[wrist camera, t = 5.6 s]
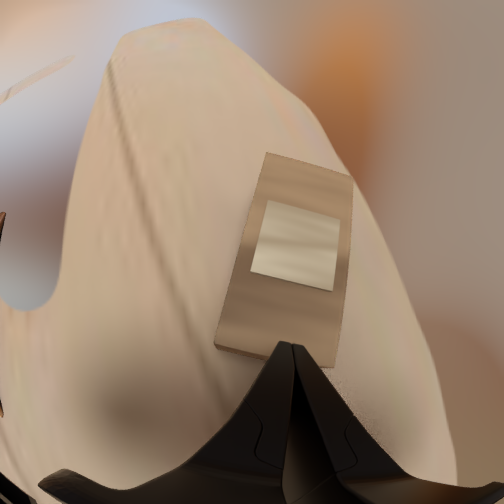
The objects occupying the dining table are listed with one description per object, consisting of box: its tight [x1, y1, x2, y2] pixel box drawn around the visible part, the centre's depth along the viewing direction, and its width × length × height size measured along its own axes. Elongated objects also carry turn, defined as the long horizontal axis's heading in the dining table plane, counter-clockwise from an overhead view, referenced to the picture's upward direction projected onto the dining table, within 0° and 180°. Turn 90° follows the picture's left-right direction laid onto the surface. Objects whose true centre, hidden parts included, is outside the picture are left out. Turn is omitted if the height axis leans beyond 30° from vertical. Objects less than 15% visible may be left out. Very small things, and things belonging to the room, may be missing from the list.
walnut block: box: [214, 152, 353, 368], centre depth 14 cm, size 5×5×10 cm
